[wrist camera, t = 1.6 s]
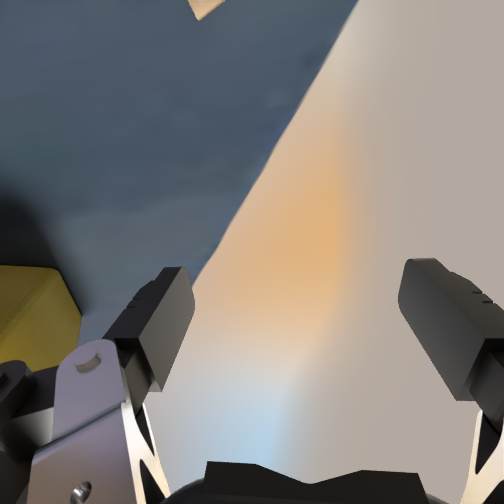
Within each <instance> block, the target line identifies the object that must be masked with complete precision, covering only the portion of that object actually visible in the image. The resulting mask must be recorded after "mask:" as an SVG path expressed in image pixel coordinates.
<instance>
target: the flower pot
mask: <svg viewBox="0 0 504 504" xmlns="http://www.w3.org/2000/svg"><path fill="white" fill-rule="evenodd" d="M80 326H81V314H80V312H79V311H78V309H77V307H76V304H75V302H74V301H73V299H72V297H71V295H70V293H69V291H68V289H67V287H66V285H65V283H64V281H63V279H62V277H61V275H60V273H59V272H58V271H57V270H55V269H52V268H41V267H24V266H7V265H0V364H1V363H4V362H7V361H11V360H21V361H23V362H25V363H26V365H27V366H28V367H29V368H30V370H31V371H32V372H34V371H38V370H42V369H46V368H50V367H54V366H57V365H60V364H61V362H62V361H63V360H64V359H65V358H66V357H67V356H68V355H69V354H70V353H71V352H72V351H74V350H75V349H77V344H78V338H79V332H80Z"/></svg>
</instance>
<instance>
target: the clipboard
mask: <svg viewBox="0 0 504 504" xmlns="http://www.w3.org/2000/svg"><path fill="white" fill-rule="evenodd" d="M188 1H189V3H190V5H191V7H192V10H193V12H194V14H195V16H196V18H197V20H199V21H200V20H201V19H202V18H203V17H205V16H206V15H207V14H208V13H210V12H211V11H212V10H214V9H215V8H216V7H217V6H219V5H220V4H221V3H223V2H224V1H225V0H188Z"/></svg>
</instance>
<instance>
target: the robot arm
mask: <svg viewBox="0 0 504 504" xmlns="http://www.w3.org/2000/svg"><path fill="white" fill-rule="evenodd" d="M398 303H399V308H400V310H401V312H402V314H403V315H404V317H405V319H406V321H407V322H408V324H409V325H410V327H411V329H412V330H413V332H414V333H415V335H416V337H417V338H418V340H419V342H420V343H421V345H422V346H423V348H424V350H425V351H426V353H427V354H428V356H429V357H430V359H431V361H432V363H433V364H434V366H435V367H436V369H437V370H438V372H439V374H440V375H441V377H442V378H443V380H444V382H445V384H446V385H447V387H448V388H449V390H450V392H451V393H452V395H453V396H454V398H455V399H456V401H476V402H477V404H478V405H479V407H480V408H481V410H480V411H479V413H478V416H477V421H476V428H475V435H474V441H473V448H472V455H471V462H470V468H469V475H468V481H467V485H466V488H465V491H464V494H463V496H462V499H461V502H460V504H504V310H503V309H502V308H500V307H499V306H498V305H497V304H495V303H493V301H492V300H491V299H490V298H489V297H488V296H487V295H485V294H482V291H481V290H480V289H479V288H478V287H476V286H475V285H474V284H473V283H472V282H471V281H469V280H468V279H466V278H463V277H462V276H460V275H458V274H456V273H454V272H450V271H448V270H447V269H446V268H445V267H444V266H443V265H442V264H441V263H440V262H439V261H438V260H436V259H435V258H422V259H421V258H420V259H408V260H407V262H406V263H405V267H404V271H403V276H402V280H401V285H400V290H399V295H398ZM194 310H195V300H194V295H193V292H192V287H191V284H190V280H189V276H188V272H187V269H186V268H185V267H165V268H163V270H162V271H161V272H160V274H159V275H158V277H157V278H156V279H155V280H154V281H150V282H149V283H147V284H146V285H145V286H143V287H142V288H141V289H140V290H139V291H138V292H137V294H136V295H135V296H134V297H133V300H132V301H130V303H129V304H128V305H127V307H126V309H124V310H123V312H122V313H121V314H120V316H119V317H118V318H117V320H116V321H115V322H114V323H113V325H112V326H111V327H110V329H109V330H108V331H107V333H106V334H105V335H104V336H103V338H102V339H100V340H95V341H91V342H88V343H86V344H84V345H82V346H80V347H78V348H77V349H75V350H74V351H72V352H71V353H70V354H69V355H68V356H67V357H66V358H65V359H64V360H63V361H62V362H61V364H60V365H57V366H54V367H50V368H46V369H42V370H38V371H34V372H32V371H31V370H30V368H29V367H28V366H27V365H26V363H25V362H23V361H21V360H11V361H7V362H4V363H1V364H0V450H2V451H1V452H0V504H448V503H446V502H444V501H442V500H440V499H438V498H436V497H434V496H432V495H430V494H427V493H425V491H424V488H423V486H422V483H421V480H420V478H419V475H418V473H406V472H388V471H387V472H386V471H370V470H360V471H357V472H353V473H350V474H346V475H343V476H339V477H336V478H332V479H328V480H325V481H321V482H318V483H313V484H307V483H303V482H301V481H298V480H295V479H293V478H290V477H288V476H285V475H283V474H280V473H277V472H275V471H272V470H270V469H267V468H264V467H262V466H260V465H256V464H248V463H230V462H212V461H207V466H206V471H205V476H204V478H202V479H198V480H196V481H194V482H192V483H189V484H187V485H185V486H183V487H182V488H180V489H179V490H177V491H175V492H174V493H172V494H171V493H170V489H169V486H168V483H167V480H166V478H165V476H164V473H163V470H162V467H161V465H160V461H159V457H158V454H157V449H156V446H155V442H154V438H153V434H152V430H151V426H150V422H149V419H148V415H147V411H146V407H145V404H144V402H143V401H144V399H145V397H146V395H147V393H148V392H162V390H163V387H164V385H165V382H166V380H167V377H168V375H169V373H170V370H171V368H172V365H173V363H174V361H175V358H176V356H177V353H178V351H179V348H180V346H181V343H182V341H183V339H184V336H185V334H186V331H187V329H188V326H189V324H190V322H191V319H192V316H193V314H194Z"/></svg>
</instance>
